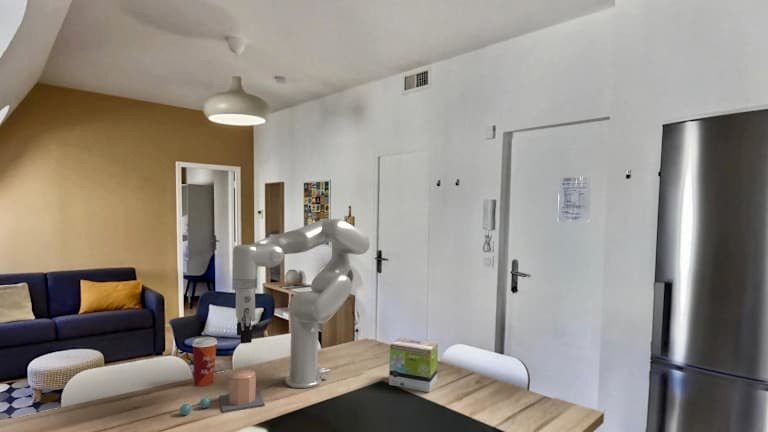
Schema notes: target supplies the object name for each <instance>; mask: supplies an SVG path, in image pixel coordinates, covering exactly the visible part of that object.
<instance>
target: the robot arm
mask: <svg viewBox="0 0 768 432" xmlns="http://www.w3.org/2000/svg"><path fill="white" fill-rule="evenodd" d="M326 243H331V258H330V260H329V261H328V263H326V265H325V266H324V267H323V268H322V269H321V270H320V271H319V272H318V273H317V275H316V276H314V278H313V280H312V281H311V284H310V289H311V292H309V291H299V292H297V293H295V294H294V295H293V296H292V297H291V298H290V300H289V302H288V313H289V319H290V355H289V356H290V358H289V359H290V360H289V375H288V376H287V377H286V378H285V379H284V380H285V381H284V382H285V384H286V386H289V387H291V388H294V389H295V388H296V389H307V388H312V387H315V386H318V385H319V384H321V382H322V379H323V378H322V376H326V375H331V373H332V372H331V371H332V370H331V368H325V367H321V368H319V367H318V357H319V356H318V355H319V354H318V353H319V351H318V350H319V327H318V324H324V323H326V322H328V321H329V320H330V319H332V318H333V316H334V315H335V314H336V313H337V312H338V310H339V309H340V308H341V307H342V305H343V304H344V303H345V302H346V300H347V299H348V298H349V296H350V293H351V291H352V281H351V279H350V277H349V276H348V274H349V272H350V270H351V261H350V260H351V258H350V255H355V256H356V255H358V256H359V255H364V254H366V253H367V252H368V251H369V249H370V245H371V242H370V238H369V236H368V235H367V234H366V233H365V232H363V231H362V230H361V229H359V228H357V227H356V226H354V225H353V224H350V223H349V222H348V221H346V220H343V219H339V218H324V219H320V220H318V221H317V220H316V221H314V222H311V223H309V224H307V225H304V226H302V227H299V228H296V229H292V230H290V231H286V232H283V233H279V234H278V233H277V234H275V235H270V236H268V237H266V238H265V237H264V238H263V239H261V240H258V241H255V242H253V243H251V244H238V245H234V247H233V249H232V273H231V274H232V283H231V284H232V285H231V287H232V288H231V290H233V291H235V317H236V319H237V320H236V321H237V322H236V336H240V340H239V341H240V344H242V345H243V344H250V343H252V342H253V340H252V339H253V329H252V328H253V327H252V322H253V323H254V322H255V321H256V294H255V290H257V289H258V275H259V274H258V273H259V269H258V268H259V267H260V268H261V267H263V268H264V267H265V268H274V267H277V266H279V265H280V264H281V263H282V262H283V260H284V257H285V255H289V254H290V255H292V254H293V255H294V254H301V253H306V252H308V251H310V250H312V249H314V248H317V247H319V246H321V245H323V244H326Z"/></svg>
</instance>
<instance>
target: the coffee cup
mask: <svg viewBox="0 0 768 432" xmlns="http://www.w3.org/2000/svg"><path fill="white" fill-rule="evenodd" d="M217 345H218V340H217V338H216V337H211V336H205V337H197V338H195V339H194V340H193V343H192V344H191V346H192V352H193V353H192V356H193V357H192V360H193V380H194V381H193V382H194V385H195V387H207V386H210V385H211V384H213V383H214V378H215V377H214V376H215V367H216V365H215V364H216V354H217V353H216V352H217Z"/></svg>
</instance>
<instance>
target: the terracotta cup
mask: <svg viewBox="0 0 768 432" xmlns="http://www.w3.org/2000/svg"><path fill="white" fill-rule="evenodd" d="M256 377H257V376H256V372H255V371H254V370H252V369H240V370H235V371H232V372H231V373H230V374H229V376H228V394H229V399H228V400H229V404H234V405H243V404H249V403H251V402H252V401H254V400H255V390H256V387H257V385H256V381H257V378H256Z"/></svg>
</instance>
